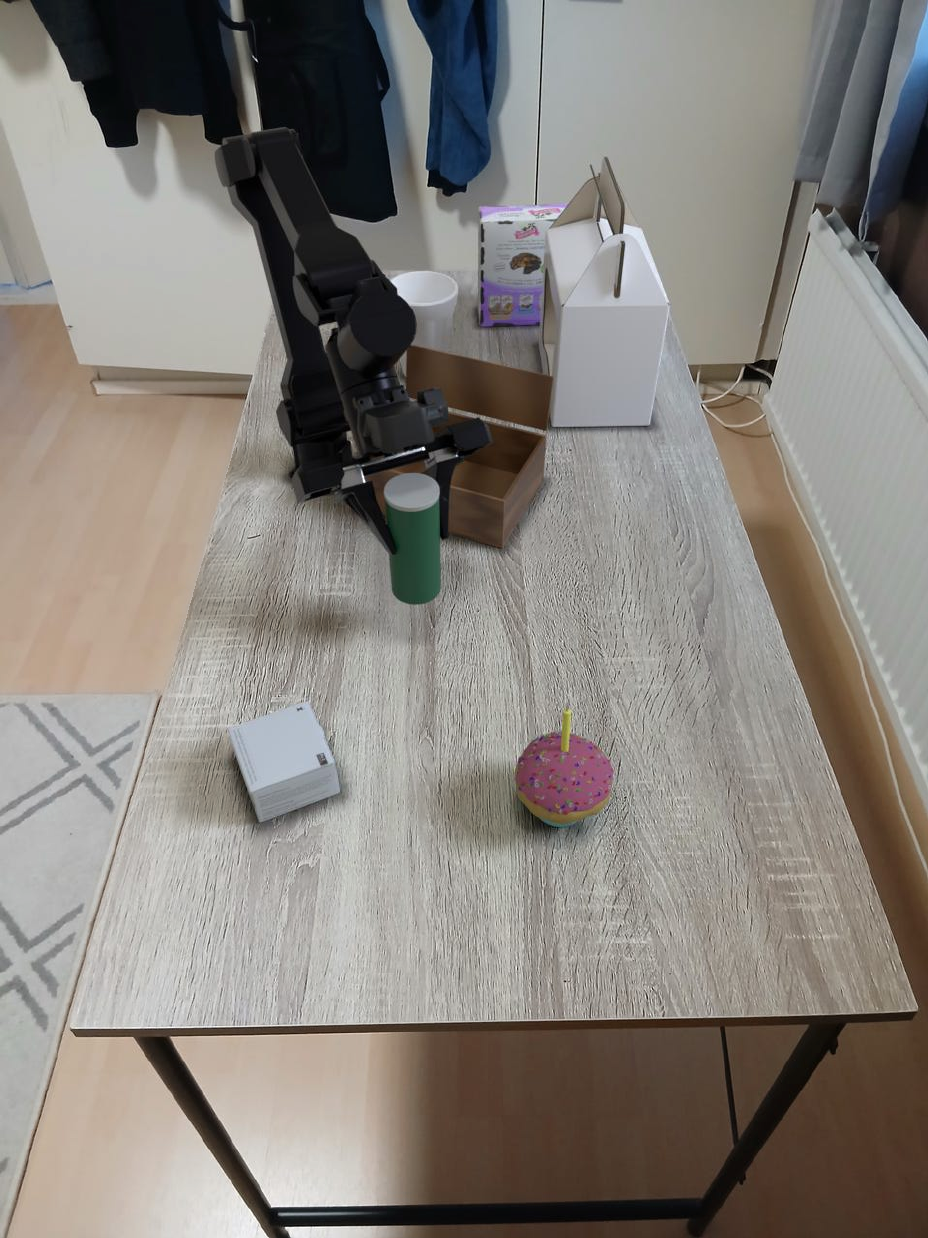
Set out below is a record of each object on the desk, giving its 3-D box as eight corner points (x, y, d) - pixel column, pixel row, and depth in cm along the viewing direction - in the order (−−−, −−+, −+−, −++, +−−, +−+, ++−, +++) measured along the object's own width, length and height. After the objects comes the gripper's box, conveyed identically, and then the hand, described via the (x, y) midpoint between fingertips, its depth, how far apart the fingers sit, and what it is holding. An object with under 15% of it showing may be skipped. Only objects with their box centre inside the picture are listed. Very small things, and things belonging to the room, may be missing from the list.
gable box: (538, 344, 139) (550, 146, 119) (625, 342, 140) (652, 145, 119) (551, 429, 124) (568, 218, 104) (650, 427, 124) (686, 216, 104)
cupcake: (507, 769, 86) (512, 685, 77) (598, 762, 86) (613, 678, 78) (519, 851, 80) (525, 770, 71) (616, 843, 80) (634, 762, 72)
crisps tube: (382, 596, 93) (373, 498, 84) (404, 564, 96) (398, 467, 87) (428, 611, 91) (425, 513, 82) (449, 578, 95) (448, 480, 85)
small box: (235, 759, 87) (225, 725, 83) (316, 731, 89) (309, 697, 85) (258, 825, 82) (248, 793, 78) (342, 794, 84) (337, 761, 80)
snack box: (358, 507, 112) (353, 461, 107) (408, 446, 121) (405, 400, 116) (502, 548, 107) (504, 501, 102) (543, 481, 116) (546, 435, 111)
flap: (406, 344, 112) (407, 343, 112) (405, 397, 116) (406, 396, 116) (553, 376, 106) (554, 376, 107) (546, 430, 110) (547, 430, 111)
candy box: (563, 306, 147) (571, 201, 136) (568, 325, 143) (577, 218, 132) (476, 309, 147) (477, 203, 135) (479, 327, 143) (480, 220, 131)
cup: (472, 367, 135) (472, 281, 125) (434, 399, 129) (431, 312, 119) (415, 348, 138) (412, 263, 129) (376, 379, 133) (369, 292, 123)
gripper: (283, 388, 76) (341, 569, 78) (486, 339, 82) (538, 509, 83) (269, 419, 87) (320, 578, 88) (450, 374, 93) (496, 524, 94)
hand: (419, 547), depth 88 cm, fingers closed on crisps tube, 5 cm apart
